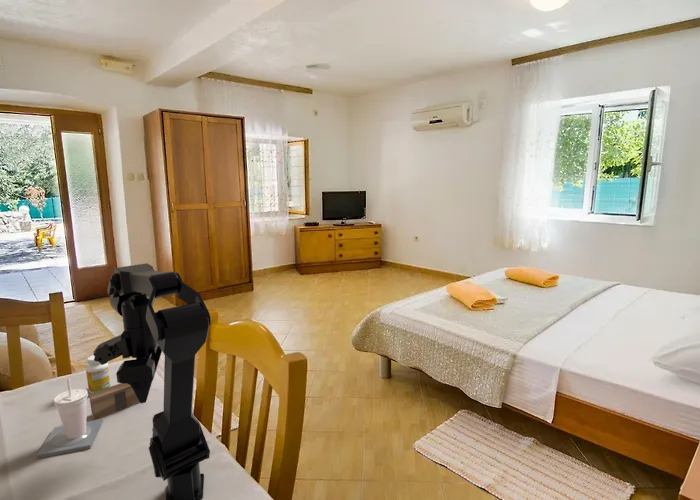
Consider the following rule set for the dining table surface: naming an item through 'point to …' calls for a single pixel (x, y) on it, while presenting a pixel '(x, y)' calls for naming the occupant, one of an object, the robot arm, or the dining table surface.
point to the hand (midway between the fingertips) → (146, 391)
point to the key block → (112, 399)
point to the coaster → (69, 440)
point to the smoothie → (72, 410)
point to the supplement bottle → (97, 375)
